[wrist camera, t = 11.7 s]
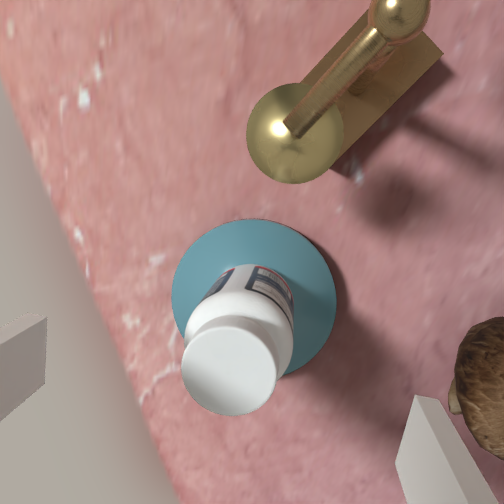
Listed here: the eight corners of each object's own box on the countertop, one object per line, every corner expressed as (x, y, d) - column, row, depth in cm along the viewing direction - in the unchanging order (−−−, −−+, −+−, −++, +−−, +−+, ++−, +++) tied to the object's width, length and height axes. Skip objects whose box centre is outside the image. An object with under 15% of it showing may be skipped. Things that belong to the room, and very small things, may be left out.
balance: (414, -34, 21) (565, -312, 9) (470, 25, 21) (690, -169, 9) (247, 146, 24) (193, 116, 12) (297, 197, 24) (295, 218, 12)
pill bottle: (217, 345, 25) (173, 433, 17) (205, 266, 24) (152, 317, 16) (299, 339, 24) (298, 429, 16) (290, 258, 24) (284, 306, 15)
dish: (146, 276, 26) (139, 280, 25) (273, 185, 24) (272, 185, 23) (237, 396, 27) (234, 406, 26) (366, 319, 25) (370, 326, 24)
